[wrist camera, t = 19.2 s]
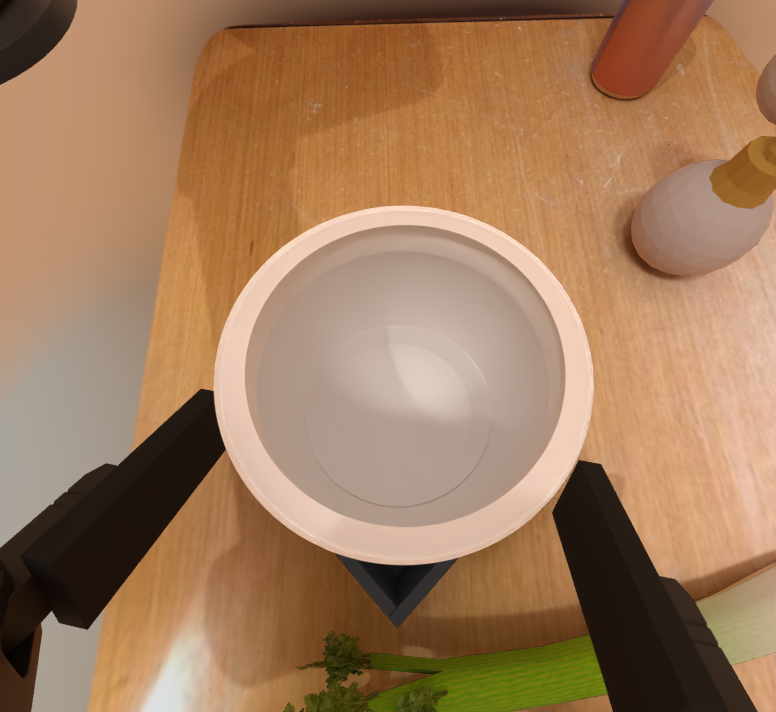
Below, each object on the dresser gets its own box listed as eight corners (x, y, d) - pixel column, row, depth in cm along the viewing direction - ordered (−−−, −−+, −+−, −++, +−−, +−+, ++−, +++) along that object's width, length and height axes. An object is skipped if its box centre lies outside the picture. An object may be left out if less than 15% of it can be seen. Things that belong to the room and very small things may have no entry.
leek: (790, 645, 23) (298, 783, 19) (727, 522, 25) (289, 622, 22) (927, 682, 17) (270, 888, 13) (826, 521, 20) (262, 654, 16)
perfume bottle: (626, 295, 28) (794, 173, 16) (594, 189, 30) (718, 21, 19) (724, 288, 28) (959, 161, 16) (683, 182, 31) (860, 11, 19)
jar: (327, 519, 23) (218, 609, 8) (309, 361, 26) (205, 228, 11) (494, 488, 23) (661, 523, 9) (457, 336, 26) (537, 178, 12)
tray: (250, 420, 25) (212, 407, 20) (397, 289, 28) (399, 246, 23) (395, 589, 22) (397, 629, 17) (544, 423, 25) (586, 412, 20)
